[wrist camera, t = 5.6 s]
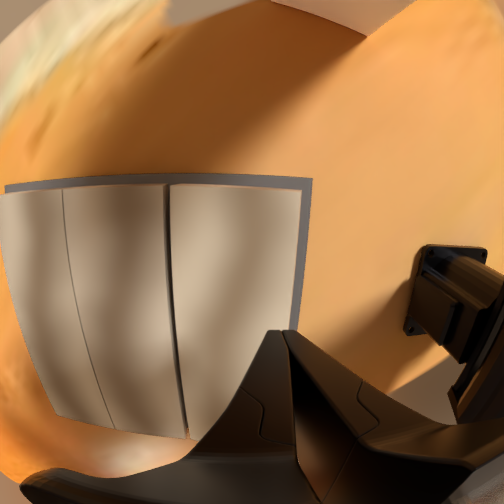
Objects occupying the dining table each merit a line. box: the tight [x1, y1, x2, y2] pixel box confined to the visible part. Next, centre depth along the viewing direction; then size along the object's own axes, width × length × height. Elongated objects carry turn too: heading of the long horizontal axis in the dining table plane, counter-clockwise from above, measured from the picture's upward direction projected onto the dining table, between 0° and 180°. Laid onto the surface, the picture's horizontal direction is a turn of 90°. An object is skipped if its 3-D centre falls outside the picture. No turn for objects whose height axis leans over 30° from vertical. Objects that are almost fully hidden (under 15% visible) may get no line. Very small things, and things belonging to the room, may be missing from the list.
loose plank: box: [170, 183, 302, 441], centre depth 16 cm, size 6×18×1 cm, turn 177°
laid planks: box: [0, 183, 187, 439], centre depth 16 cm, size 12×18×1 cm, turn 178°
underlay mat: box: [5, 173, 313, 428], centre depth 17 cm, size 19×18×1 cm
